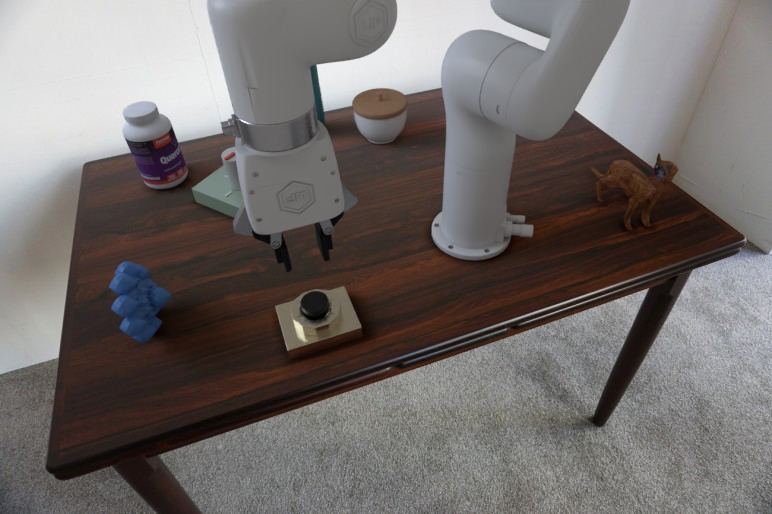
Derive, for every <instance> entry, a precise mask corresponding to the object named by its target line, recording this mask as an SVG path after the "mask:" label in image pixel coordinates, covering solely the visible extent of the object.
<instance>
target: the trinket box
mask: <svg viewBox="0 0 772 514" xmlns="http://www.w3.org/2000/svg"><path fill="white" fill-rule="evenodd" d="M351 103H352V104H351V105H352V106H351V107H352V110H353V119H354V122H355V126H356V128H357V130H358V131H359V133H360V134H361V135H362V136H363V137H364V138H365V139H366V140H367V141H368V142H370V143H372V144H375V145H385V144H389V143H392V142H393V141H395V140H396V139H397V137H398V136H399V135H400V134H401V133H402V132H403V130H404V128H405V126H406V123H407V115H408V106H409V105H408V103H409V101H408V97H407V96H406V95H405V94H404V93H403V92H401V91H399V90H397V89H394V88H388V87H387V88H386V87H376V88H371V89H366V90H364V91H361V92H359V93H358V94H356V95H355V96H354V97H353V99H352V102H351Z"/></svg>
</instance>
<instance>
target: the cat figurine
mask: <svg viewBox="0 0 772 514" xmlns="http://www.w3.org/2000/svg"><path fill="white" fill-rule="evenodd" d="M590 171H591V172H593V174H594V176H596V177H597V178H598V179H599V180H597V181H596V182H595V190H596V197H597V201H598V202H600V203H603V202H604V200H603V198H602V197H603V196H602V195H603V190H609V189H611V188H618V189H619V190H623V191H624V192H625V195H626V196H627V197H628V198H629V199H628V207H627V209H626V211H625V214H624V217H623V224H624V227H625V229H626V230H627V231H633V230H634V228H633V227H632V225H631V223H632V222H631V221H632V220H631V219H632V215H633V214H634V212H635V211H636V209H637V206H638V204H645V206H644V207H643V210H642V213H641V218H640V219H641V223H642V224H643V226H644V227H645V228H646V227H647V228H649V227H650V228H651V226H652V224H651V222H650V214H651V211H652V210H653V208H654V207H655V205H656V203H657V200H658V199H660V198H661V193H663V192H664V185H667V184H669V183H671V182H672V181H673V179H674V178H675V176H676V175H677V173H678V172H679V168H678V166H677V165H676V164H675V163H673V162H672V161H671V160H663V159H662V157H661V153H659V152H658V153H657V156H656V162H655V165H654V166H653V169H652V176H653V178H655V180H656V183H657V184H656V187H655V186H654V184H652V182H651V181H650V179H649V178H648V176H647V175H646V174H645V172H643V171H642V170H641V169H640V168H639V167H637V166H636V165H634V164H633V163H632V162H631V161H629V160H626V159H625V160H624V159H618V160H614V161H612V163H611V164H610V165H609V168H608V170H607V171H606V173H605V174H602V173H601V172H600V171H599V170H598V169H597V168H596V167H595V166H591V167H590Z"/></svg>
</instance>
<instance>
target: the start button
mask: <svg viewBox="0 0 772 514" xmlns="http://www.w3.org/2000/svg"><path fill="white" fill-rule="evenodd" d="M301 308H302V312H303V315H304V316H305V317H306V318H308V319H310V320H319V319H322V318H323V317H325V316H326V315H327V314H328V312H329V309H330V308H329V301H328V297H327V296H326V294H324V293H323V292H320V291H312V292H309V293H307V294H305V295H304V296H303V297H302V299H301Z"/></svg>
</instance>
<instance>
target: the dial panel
mask: <svg viewBox="0 0 772 514" xmlns="http://www.w3.org/2000/svg"><path fill="white" fill-rule="evenodd" d="M191 192H192V194H193V197H194V200H195V202H196V203H198V204H200V205H202V206H205V207H207V208H209V209H212V210H214V211H217V212H220V213H222V214H224V215H226V216H229V217H232V218H233V219H234V218H235V216H236V214H237V212H238V210H239V207H240V205H241V203H242V201H243V196H242V192H241V190H234V189H232V188H231V187H230V184H229V180H228V177H227V174H226V170H225V167H224V164H223V165H221V166H220V167H219V168H217V169H216V170H215V171H213V172H212V173H210V174H209V175H208V176H206V177H205V178H204V179H203V180H201V181H199V182H198V183H197V184H196V185H194V186H193V187H191ZM259 220H260V219H259Z"/></svg>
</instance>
